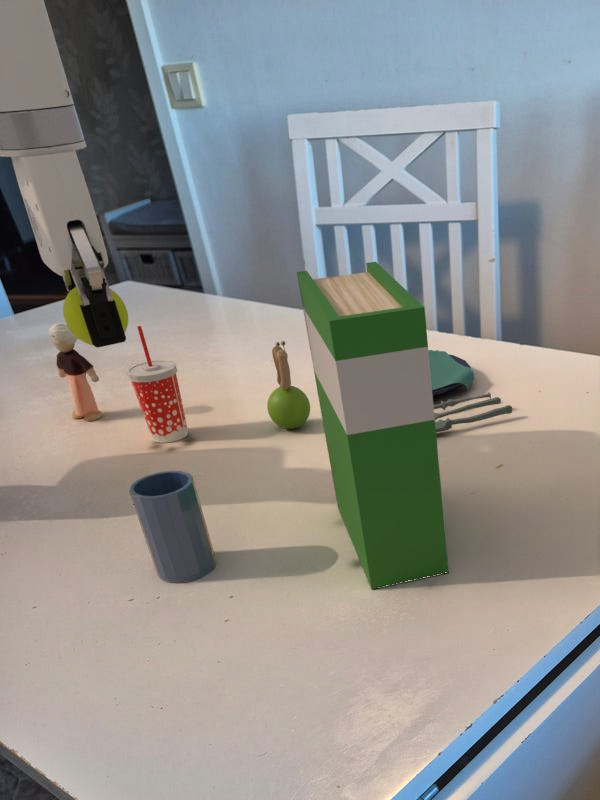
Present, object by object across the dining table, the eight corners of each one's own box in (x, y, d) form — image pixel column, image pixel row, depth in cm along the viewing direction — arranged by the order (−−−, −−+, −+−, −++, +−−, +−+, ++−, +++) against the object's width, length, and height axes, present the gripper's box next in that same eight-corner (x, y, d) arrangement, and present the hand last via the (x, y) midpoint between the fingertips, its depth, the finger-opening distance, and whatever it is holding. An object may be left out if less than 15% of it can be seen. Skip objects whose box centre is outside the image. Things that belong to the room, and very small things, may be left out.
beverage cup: (164, 425, 113) (133, 318, 105) (203, 428, 112) (175, 320, 103) (136, 443, 109) (102, 333, 100) (177, 446, 107) (144, 335, 99)
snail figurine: (277, 441, 107) (257, 345, 99) (268, 424, 111) (248, 332, 104) (319, 432, 108) (302, 338, 101) (308, 416, 113) (291, 325, 106)
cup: (154, 586, 80) (125, 501, 74) (160, 557, 84) (133, 475, 79) (214, 578, 80) (190, 492, 75) (217, 549, 85) (194, 467, 79)
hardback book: (337, 507, 91) (296, 272, 76) (404, 495, 92) (375, 261, 78) (371, 589, 77) (329, 321, 63) (448, 572, 79) (424, 307, 64)
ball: (70, 357, 84) (48, 294, 80) (80, 340, 89) (60, 280, 85) (132, 349, 85) (113, 287, 81) (138, 333, 89) (121, 273, 86)
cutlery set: (440, 355, 131) (439, 340, 130) (528, 416, 109) (528, 399, 107) (317, 379, 125) (314, 364, 123) (383, 450, 102) (381, 432, 101)
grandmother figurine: (59, 420, 117) (24, 327, 109) (77, 410, 120) (45, 318, 112) (104, 424, 115) (72, 329, 107) (121, 413, 118) (92, 321, 110)
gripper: (-19, 133, 80) (49, 326, 91) (6, 143, 68) (82, 365, 79) (62, 124, 83) (120, 312, 94) (101, 133, 71) (161, 348, 82)
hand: (102, 335), depth 86 cm, fingers closed on ball, 5 cm apart
